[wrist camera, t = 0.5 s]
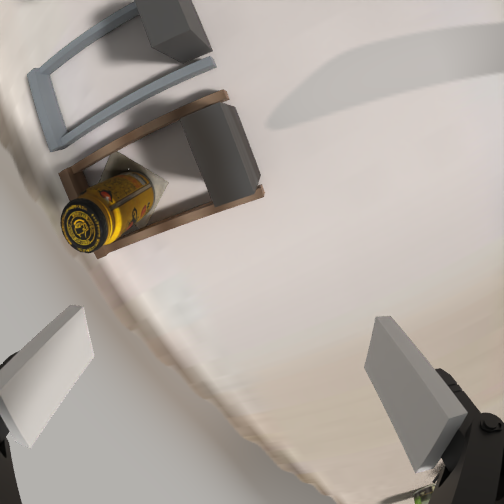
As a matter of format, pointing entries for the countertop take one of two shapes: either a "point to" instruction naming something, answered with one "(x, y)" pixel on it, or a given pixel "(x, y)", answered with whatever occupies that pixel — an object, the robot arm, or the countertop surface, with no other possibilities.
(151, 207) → the condiment
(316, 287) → the countertop surface
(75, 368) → the robot arm
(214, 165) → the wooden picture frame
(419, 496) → the coffee can
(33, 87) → the grey frame
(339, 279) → the countertop surface
